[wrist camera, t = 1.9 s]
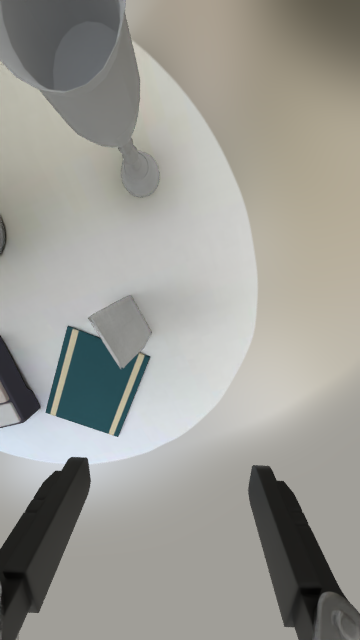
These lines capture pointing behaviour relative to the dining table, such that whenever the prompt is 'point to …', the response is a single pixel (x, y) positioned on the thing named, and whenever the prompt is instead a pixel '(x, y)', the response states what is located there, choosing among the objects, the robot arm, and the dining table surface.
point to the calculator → (13, 393)
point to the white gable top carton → (121, 329)
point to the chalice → (82, 72)
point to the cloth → (93, 383)
